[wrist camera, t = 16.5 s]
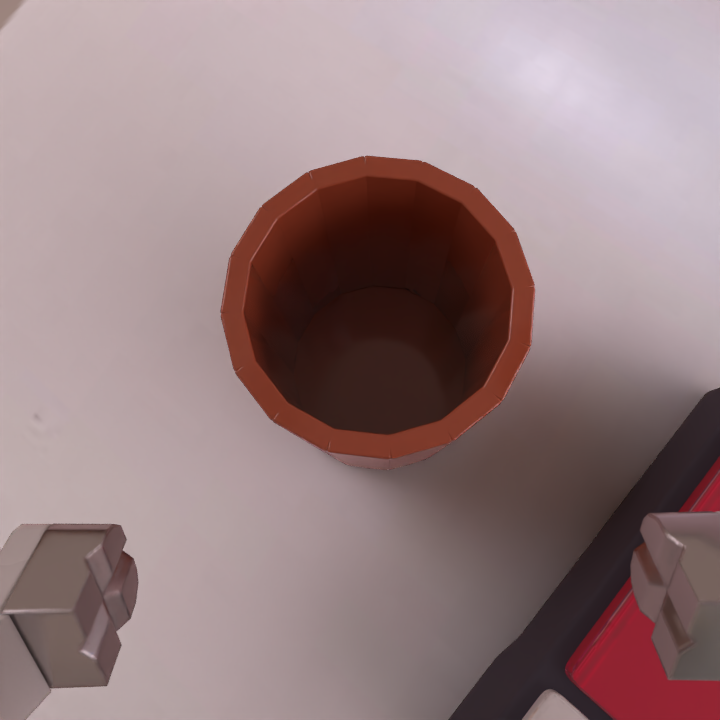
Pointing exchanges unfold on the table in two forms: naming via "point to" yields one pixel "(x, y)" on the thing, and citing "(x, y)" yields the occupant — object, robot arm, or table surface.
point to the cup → (378, 309)
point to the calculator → (610, 612)
